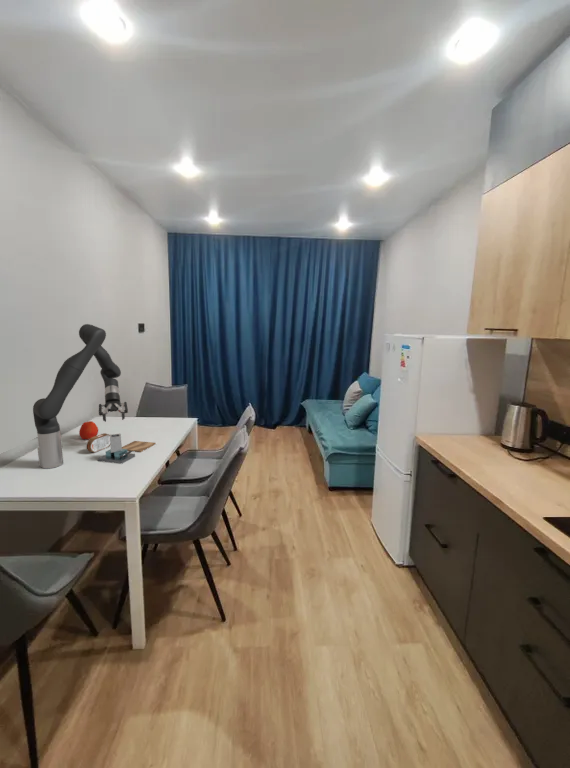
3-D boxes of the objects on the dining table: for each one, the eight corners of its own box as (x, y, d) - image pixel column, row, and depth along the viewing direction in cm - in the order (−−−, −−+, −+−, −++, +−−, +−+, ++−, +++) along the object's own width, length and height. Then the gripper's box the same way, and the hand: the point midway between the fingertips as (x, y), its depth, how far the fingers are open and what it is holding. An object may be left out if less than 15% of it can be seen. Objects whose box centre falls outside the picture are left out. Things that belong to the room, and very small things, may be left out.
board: (118, 450, 193) (118, 448, 193) (134, 442, 206) (134, 440, 206) (140, 452, 190) (140, 450, 190) (155, 444, 203) (155, 442, 203)
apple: (97, 439, 211) (96, 422, 209) (78, 441, 207) (76, 424, 206) (99, 434, 220) (98, 418, 219) (81, 436, 217) (79, 420, 215)
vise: (98, 461, 177) (96, 440, 176) (112, 454, 187) (110, 434, 185) (122, 463, 174) (120, 442, 172) (135, 456, 184) (133, 436, 182)
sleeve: (111, 452, 177) (109, 437, 175) (111, 449, 181) (109, 434, 180) (121, 451, 179) (120, 436, 178) (121, 448, 183) (120, 433, 182)
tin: (109, 445, 201) (108, 431, 200) (113, 446, 200) (112, 431, 199) (86, 454, 187) (85, 439, 186) (91, 455, 186) (89, 439, 185)
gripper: (97, 392, 190) (98, 418, 182) (126, 390, 196) (128, 415, 188) (98, 400, 195) (99, 425, 187) (126, 398, 202) (128, 422, 193)
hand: (114, 420), depth 188 cm, fingers open, 8 cm apart
